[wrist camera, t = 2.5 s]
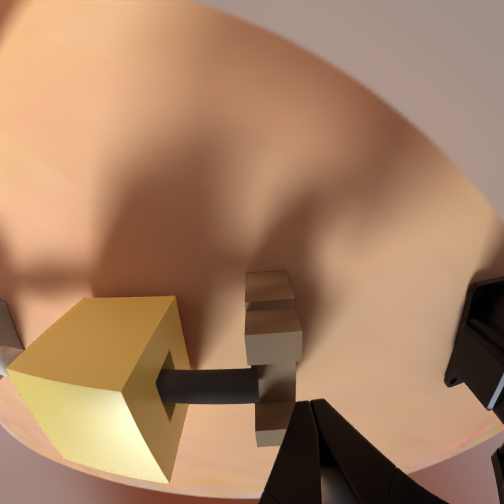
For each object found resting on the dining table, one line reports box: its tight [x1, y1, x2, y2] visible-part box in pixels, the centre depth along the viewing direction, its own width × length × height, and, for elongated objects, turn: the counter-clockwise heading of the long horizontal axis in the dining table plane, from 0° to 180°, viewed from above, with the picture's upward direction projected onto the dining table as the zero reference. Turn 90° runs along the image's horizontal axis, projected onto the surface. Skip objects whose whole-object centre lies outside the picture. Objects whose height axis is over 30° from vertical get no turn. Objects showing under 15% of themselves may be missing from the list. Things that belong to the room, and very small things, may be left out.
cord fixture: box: [0, 270, 303, 447], centre depth 10 cm, size 18×6×4 cm, turn 94°
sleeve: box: [6, 296, 191, 484], centre depth 9 cm, size 4×4×6 cm
